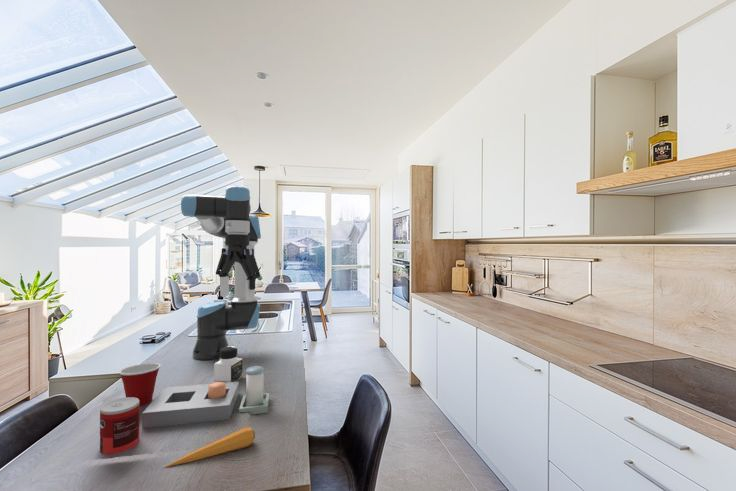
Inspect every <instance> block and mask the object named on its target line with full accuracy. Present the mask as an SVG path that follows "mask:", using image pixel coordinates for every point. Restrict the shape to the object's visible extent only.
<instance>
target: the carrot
mask: <svg viewBox="0 0 736 491" xmlns="http://www.w3.org/2000/svg"><path fill="white" fill-rule="evenodd" d="M255 438H256V435H255V430H253V428H252V427H249V426H248V427H243V428H241V429H239V430H237V431H235V432H233V433H231V434H228V435H226V436H224V437H222V438H220V439H218V440H216V441H213V442H211V443H209V444H207V445H205V446H203V447H200V448H199V449H198V448H197V449H196V450H194V451H192V452H190V453H188V454H186V455H184V456H182V457H180V458H178V459H177V460H174V461H173V462H171V463H169V464H167V465H165V466H163V469H164V468H168V467H173V466H178V465H182V464H186V463H190V462H194V461H199V460H202V459H203V460H204V459H206V458H210V457H215V456H218V455H222V454H225V453H229V452H233V451H236V450H241V449H244V448H248V447H251V445H253V444H254V439H255Z"/></svg>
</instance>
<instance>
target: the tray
mask: <svg viewBox="0 0 736 491" xmlns="http://www.w3.org/2000/svg"><path fill="white" fill-rule="evenodd" d="M269 404H270V392H263V405H261V406H250V407H247V406H245V405H246V394H243V396H242V399H241V402H240V404H239V408H238V413H246V412H248V415H257V414H258V415H259V414H267V413H268V409H269Z"/></svg>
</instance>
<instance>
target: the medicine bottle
mask: <svg viewBox="0 0 736 491" xmlns="http://www.w3.org/2000/svg"><path fill="white" fill-rule="evenodd" d="M242 377H243V358H239V357H238V348H237V346H232V345H231V346H230V345H229V346H227V347H224V348H222V349H221V350H220V358H219V360H218V361H216V362H215V363H214V364H213V382H225V383H229V382H235V381H237V380H239V379H240V380H241V378H242Z"/></svg>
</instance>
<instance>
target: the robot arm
mask: <svg viewBox="0 0 736 491" xmlns="http://www.w3.org/2000/svg"><path fill="white" fill-rule="evenodd" d="M250 193H251V192H250V189H249V188H247V187H242V186H227V187H226V188H225V195H224V196H222V195H221V196H219V195H218V196H216V195H214V196H213V195H201V194H200V195H199V194H184V195H183V196H182V197H181V200H180V210H181V214H182V215H183V216H184V217H190V218H196V220H197V221H198V222H199V223H200V226H201V229H202V230H203V231H205V232H206V233H207V234H209V235H212V236H214V237H218V238H221V239H224V244H225V246H227V247H222V248H221V252H220V253H221V254H220V257H219V260H218V263H217V267H216V271H215V275H218V277H219V288H220V289H219V290H220V291H219V292H220V293H219V294H220V297H226V296H230V292H229V291H230V277H229V276H230V275H229V273H230V271H231V269H232V267H233V266H234V297H233V298H231V300H230V304H227V302H226V301H225V300H224V301H223V300H222V301H213V302H209V303H205V304H203V305H200V306H199V307H198V308H197V316H196V318H197V319H196V320H197V324H196V326H197V328H196V329H197V330H196V331H197V333H196V334H197V335H196V337H197V338H196V342H195V344H194V347H193V350H192V358H193V359H195V360H200V361H208V360H215V359H220V350H221V349H222V348H224V347H227V346H230V344H229V343H228V339H227V337H226V333H227V331H238V330H252V329H255V328H257V326H258V324H259V319H260V318H259V317H260V310H261V303H259V302H258V299H257V298H256V297H255V290H256V279H258V278H261V273H260V270H259V266H258V263H257V260H256V257H255V246H256V245H257V244H258V243H259V242H258V240H260V239H261V238H262V236H261V235H262V234H261V226H260V219H259V216H258V215H257V214H253V213H251V210H252V209H251V202H250V201H251V196H250V195H251V194H250Z"/></svg>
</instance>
